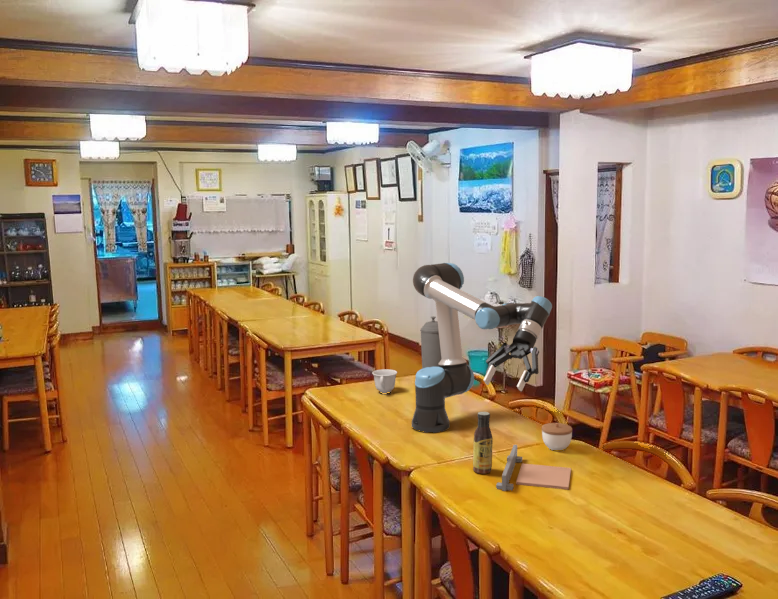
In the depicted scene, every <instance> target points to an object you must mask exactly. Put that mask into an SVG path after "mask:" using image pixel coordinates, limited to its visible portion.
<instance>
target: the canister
mask: <svg viewBox="0 0 778 599" xmlns="http://www.w3.org/2000/svg"><path fill="white" fill-rule="evenodd" d="M430 319H431V321H426V322H425V323H424V324H423V325H422V327H421V328H420V343H421V345H420V346H421V348H420V350H421V369H423V368H426V367H439V365H438V363H439V362H440V361H441V359H442V358H441V349H440V339H439V330H438V320H435V319H437V316H430Z"/></svg>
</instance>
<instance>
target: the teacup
mask: <svg viewBox="0 0 778 599" xmlns="http://www.w3.org/2000/svg"><path fill="white" fill-rule="evenodd" d="M371 374H372V375H373V380H374V385H375V389H376V390H377V391H380V392H382V393H387V392H391V393H392V390H394V389H395V386H396V377H397V374H398V371H397V370H395V369H391V368H390V369H387V368H386V369H385V368H382V369H376V370H374V371H372V373H371Z"/></svg>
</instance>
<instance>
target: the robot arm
mask: <svg viewBox="0 0 778 599" xmlns="http://www.w3.org/2000/svg"><path fill="white" fill-rule="evenodd" d="M464 282H465V276H464V273H463V270H462V269H461V268H460V267H459V266H458V265H457V264H455V263H453V262H443V263H435V264H424V265H422V266H420V267H418V268H417V270H416V271H415V272H414V273H413V277H412V284H413V287H414V289H415V290H416V291H417V293H418V294H419V295H421V296H423V297H424V298H427V299H429V300H434V302H435V310H436V311H435V312H436V319H437V320H436V321H437V322H438V330H439V339H440V349H441V358H442V359H441V361H440V362H439V363H438V365H439V367H426V368H423V369H422V368H421V369H419V370H417V372H416V374H415V381H414V390H415V410H414V412H413V417H412V419H411V428H412V427H413V428H414V429H416V430H420V431H424V432H423V433H428V432H433V433H441V432H445V431H447V430H449V429H450V418H449V416H448V413H447V410H446V405H445V404H446V399H447V398H450V397H453V396H458V395H459V396H460V395H463V394H464V393H467V392H468V391H470V390H471V388H473V386H474V383H475V373H474V371H473V369H472V368H471V366H470V365H469V364H468V363H467V362H468V361H467V360H466V359H465V358H464V357H463V349H462V339H461V331H460V322H459V321H460V320H459V313H461V314H462V315H465V316H467V317H468V318H470V319H472V320H474V321H475V323H476V325H477V326H478V327H479V329H481V330H493V329H496V328H501V327H507V326H511V325H518V324H519V327H518V329H517V331H516V332H515V334H514V335H513V338H512V342H511V343H510V344H507V342H505V341H504V342H502V345H501V346H500V347H499V348H498V349H496V351H495V352H494V353H492V354H491V355H490V356H489V357H488V358H487V359H486V360H485V362H486V364H487V366H488V367H487V369H486V371H485V376H484V377H483V382H484V383H485V385H488V386H489V384H490V383H491V381H492V378H493V377H494V374H495V373H496V371H497V369H496V368H497V367H499V366H500V365H502V364H503V363H505V362H506V361H508V360H512V359H519V360H523V363H524V365H525V369H526V370H525V369H524V371H523V372H522V375H521V376H520V378H519V381H518V383H517V385H516V387H517V389H518V391H520V392H522V391H523V390H524V387H525V385H526V384H527V383H528V382H530V379H531V377H532V375H538V374H539V353H540V350H539V349H538V348H537V346H535V345H536V343H537V340H538V338H539V336H540V334H541V332H542V330H543V328H544V326H545V324H546V322H547V320H548V318H549V317H550V313H551V311H552V308H553V304H552V302H551V301H550V300H549V299H548V298H546V297H544V296H541V295H537V296H534V297H533V299H532V300H531V302H525V303H523V302H522V303H519V302H517V303H514V302H508V303H503V304H501V305H496V306H494V305H492V304H490V303H487V302H486V301H484V300H482V299H480V298H478V297H476V296H474V295H471V294H469V293H468V292H466V291H464V290H462V289H461V288H462V287H463V285H464ZM529 354H531V363H530V361H529V360H530V359H529ZM413 428H412V429H413ZM414 429H413V430H414ZM416 430H415V431H416ZM420 431H419V432H420ZM440 431H441V432H440Z"/></svg>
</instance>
